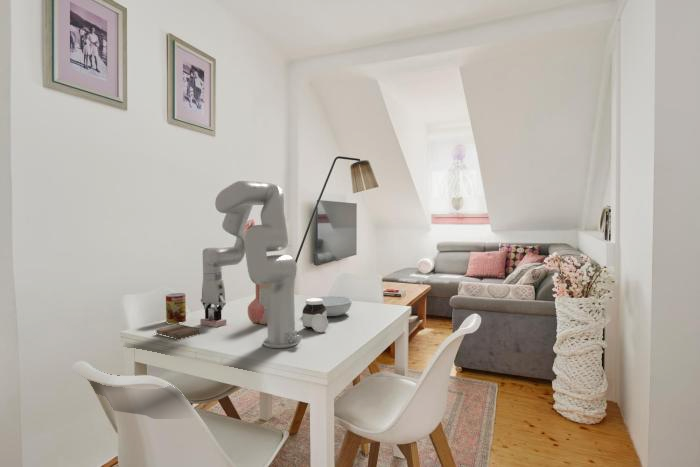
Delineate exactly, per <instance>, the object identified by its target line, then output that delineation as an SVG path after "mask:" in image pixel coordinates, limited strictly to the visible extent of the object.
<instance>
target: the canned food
mask: <svg viewBox="0 0 700 467" xmlns="http://www.w3.org/2000/svg"><path fill="white" fill-rule="evenodd" d="M186 306H187V304H186V293H184V292H176V293H175V292H174V293H173V292H172V293H167V294H165V311H166V312H165V316H166V318H165V319H166V323H167V322H168V323H177V324H180V323H179V322H182V323H185V322H186V321H187V311H186V309H187V308H186ZM184 321H185V322H184ZM168 323H167V324H168Z"/></svg>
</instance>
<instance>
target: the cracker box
mask: <svg viewBox="0 0 700 467" xmlns="http://www.w3.org/2000/svg"><path fill="white" fill-rule="evenodd" d="M270 284H271V283H269V284H263V285H258V286H259V287H258V288H259V289H258V290H259V292H258V296H259V299H258V301H259V302H258V304H259V303H261V304H262V305H263V306H264V314H263V318H262V320H261V321H260V322H259V325H265V326H268V317H267V293H268V289H269V286H270Z"/></svg>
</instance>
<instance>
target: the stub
mask: <svg viewBox="0 0 700 467" xmlns="http://www.w3.org/2000/svg"><path fill="white" fill-rule="evenodd" d="M214 311H215V307H214V306H211V307H209V308H208V319H205V317H204V318H200V321H199V322H200V325H204V326H208V327H213V328H218V327H222V326H224V325H227V319H226V318H221V320H217V321H215V320H214Z"/></svg>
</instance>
